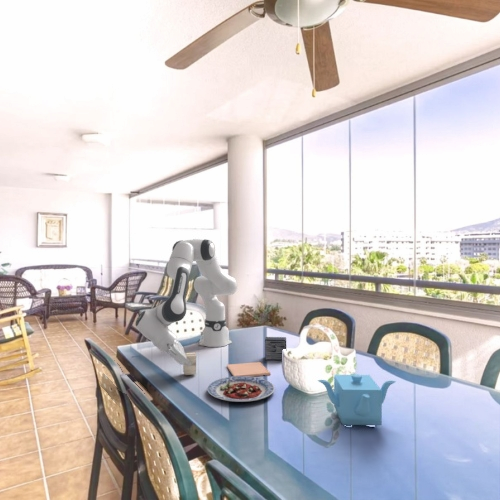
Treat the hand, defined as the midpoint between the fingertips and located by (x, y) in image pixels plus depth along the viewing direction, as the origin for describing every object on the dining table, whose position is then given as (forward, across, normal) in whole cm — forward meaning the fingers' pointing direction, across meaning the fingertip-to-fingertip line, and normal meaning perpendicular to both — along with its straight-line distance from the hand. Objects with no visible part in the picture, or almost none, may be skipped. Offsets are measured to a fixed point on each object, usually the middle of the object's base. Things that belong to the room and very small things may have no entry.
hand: (190, 362), depth 170 cm
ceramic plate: (+16, -25, -8) cm, 31 cm away
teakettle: (+37, -59, -29) cm, 76 cm away
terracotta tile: (+22, -1, -14) cm, 26 cm away
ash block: (+3, 0, +3) cm, 4 cm away
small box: (+35, +13, -27) cm, 46 cm away
